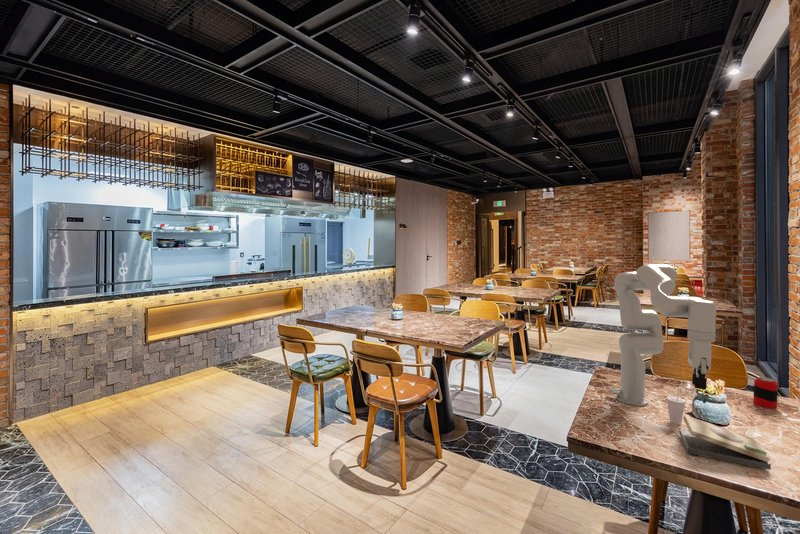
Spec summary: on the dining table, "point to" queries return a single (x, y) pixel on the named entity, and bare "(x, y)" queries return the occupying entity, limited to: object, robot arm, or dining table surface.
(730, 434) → the stand top
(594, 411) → the dining table surface
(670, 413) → the smoothie
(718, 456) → the stand base
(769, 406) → the soda can
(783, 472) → the dining table surface
